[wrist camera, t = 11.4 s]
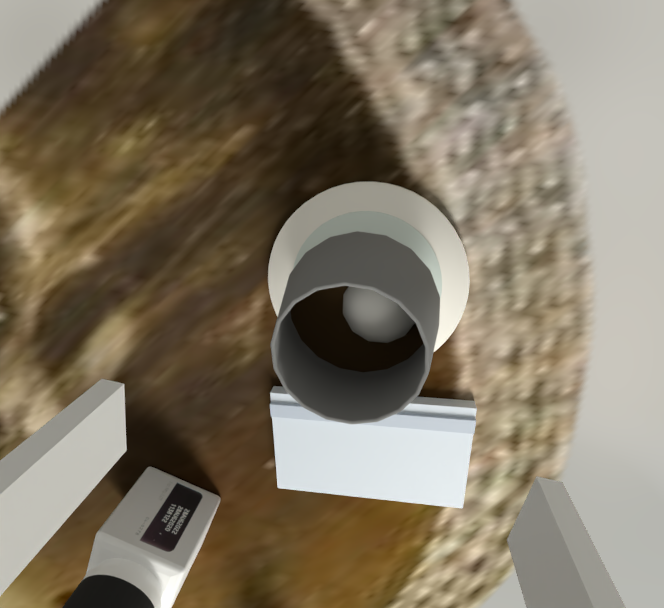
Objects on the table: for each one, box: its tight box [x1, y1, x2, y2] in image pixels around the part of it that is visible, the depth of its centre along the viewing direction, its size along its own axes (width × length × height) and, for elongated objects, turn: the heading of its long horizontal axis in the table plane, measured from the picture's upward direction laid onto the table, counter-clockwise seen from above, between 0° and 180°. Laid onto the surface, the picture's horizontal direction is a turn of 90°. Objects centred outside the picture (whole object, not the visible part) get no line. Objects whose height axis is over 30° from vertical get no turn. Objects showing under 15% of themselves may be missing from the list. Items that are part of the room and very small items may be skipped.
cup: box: [271, 231, 440, 424], centre depth 24 cm, size 10×9×10 cm
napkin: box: [270, 386, 477, 508], centre depth 34 cm, size 16×10×1 cm, turn 91°
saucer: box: [268, 181, 470, 352], centre depth 29 cm, size 14×14×1 cm
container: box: [63, 467, 220, 608], centre depth 35 cm, size 8×8×13 cm
